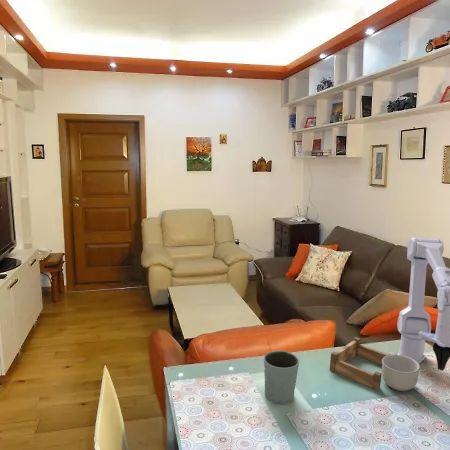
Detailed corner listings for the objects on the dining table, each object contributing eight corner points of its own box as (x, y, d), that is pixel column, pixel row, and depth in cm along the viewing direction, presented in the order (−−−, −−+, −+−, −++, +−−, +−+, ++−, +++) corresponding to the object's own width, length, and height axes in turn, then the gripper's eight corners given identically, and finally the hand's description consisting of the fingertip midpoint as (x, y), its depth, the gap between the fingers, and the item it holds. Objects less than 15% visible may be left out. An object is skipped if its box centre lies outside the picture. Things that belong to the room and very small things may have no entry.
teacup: (420, 397, 129) (423, 373, 127) (382, 392, 131) (385, 368, 129) (410, 374, 142) (413, 351, 141) (375, 369, 144) (378, 347, 143)
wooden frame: (354, 352, 155) (355, 336, 154) (399, 369, 145) (401, 353, 143) (329, 369, 143) (331, 353, 141) (377, 390, 132) (379, 372, 131)
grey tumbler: (298, 390, 130) (301, 354, 127) (292, 409, 120) (295, 370, 118) (266, 383, 133) (268, 347, 131) (257, 401, 124) (260, 363, 121)
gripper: (417, 321, 126) (411, 364, 129) (472, 338, 116) (464, 383, 119) (425, 315, 131) (419, 356, 134) (478, 330, 121) (471, 374, 124)
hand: (441, 368), depth 127 cm, fingers closed
